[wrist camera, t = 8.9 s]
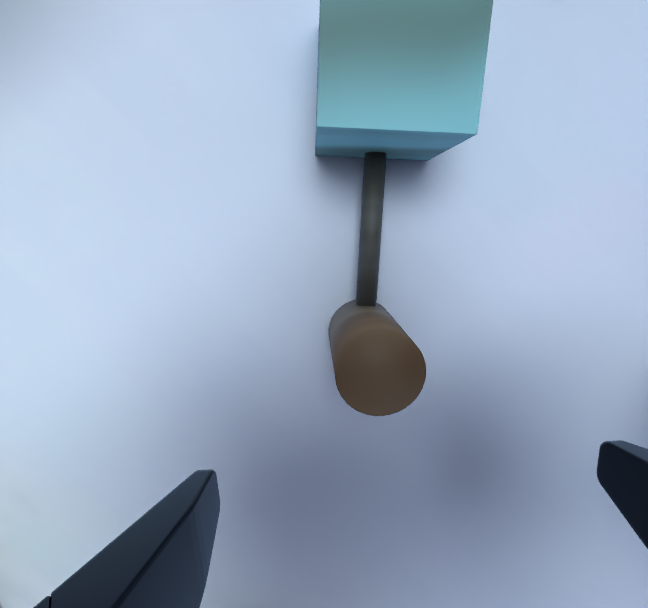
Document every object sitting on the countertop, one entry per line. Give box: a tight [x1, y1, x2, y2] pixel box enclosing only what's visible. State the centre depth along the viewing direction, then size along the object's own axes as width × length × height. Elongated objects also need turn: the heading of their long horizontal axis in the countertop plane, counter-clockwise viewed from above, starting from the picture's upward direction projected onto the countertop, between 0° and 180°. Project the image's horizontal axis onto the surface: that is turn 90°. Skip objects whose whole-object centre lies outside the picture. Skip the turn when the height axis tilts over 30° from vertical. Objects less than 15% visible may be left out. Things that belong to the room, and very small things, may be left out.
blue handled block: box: [315, 0, 493, 416], centre depth 14 cm, size 15×5×5 cm, turn 178°
